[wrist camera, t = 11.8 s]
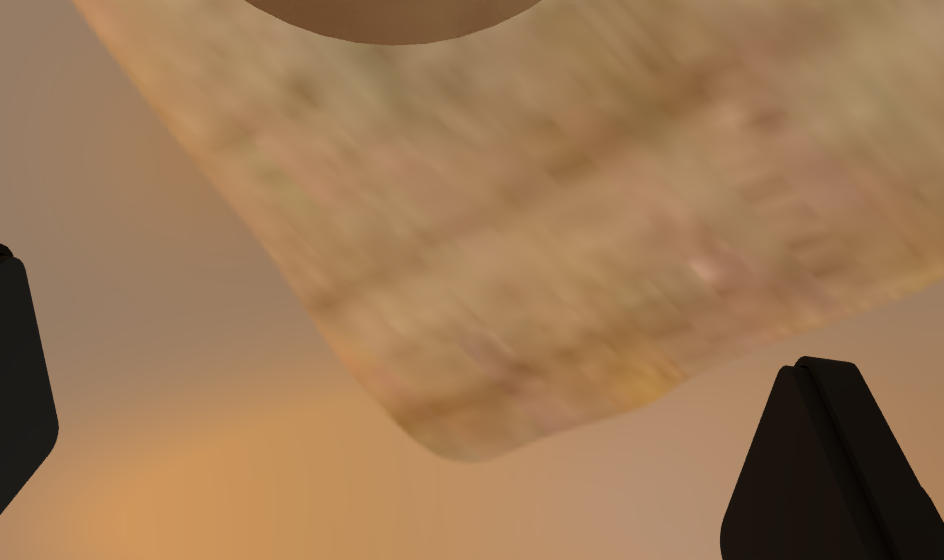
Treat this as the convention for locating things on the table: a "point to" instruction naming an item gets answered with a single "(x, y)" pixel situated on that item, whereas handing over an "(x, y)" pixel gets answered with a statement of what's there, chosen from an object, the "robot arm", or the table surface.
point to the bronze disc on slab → (393, 18)
